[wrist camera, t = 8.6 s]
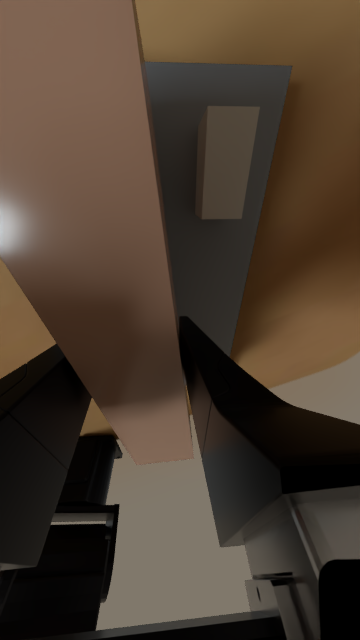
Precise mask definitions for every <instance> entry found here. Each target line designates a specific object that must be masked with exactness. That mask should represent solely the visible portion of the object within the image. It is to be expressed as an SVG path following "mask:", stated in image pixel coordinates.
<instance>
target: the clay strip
mask: <svg viewBox="0 0 360 640" xmlns="http://www.w3.org/2000/svg"><path fill="white" fill-rule="evenodd" d="M0 257H1V259H2V260H3V262H4V263H5V265H6V266H7V268H8V269H9V271H10V272H11V274H12V276H13V277H14V279H15V280H16V282H17V283H18V285H19V286H20V288H21V289H22V291H23V292H24V294H25V295H26V297H27V298H28V300H29V301H30V303H31V305H32V306H33V308H34V309H35V311H36V312H37V314H38V315H39V317H40V318H41V320H42V321H43V323H44V324H45V326H46V327H47V329H48V331H49V332H50V334H51V335H52V337H53V338H54V340H55V341H56V343H57V344H58V346H59V347H60V349H61V350H62V352H63V353H64V355H65V356H66V358H67V360H68V361H69V363H70V364H71V366H72V367H73V369H74V370H75V372H76V373H77V375H78V376H79V378H80V379H81V381H82V382H83V384H84V385H85V387H86V389H87V390H88V392H89V393H90V395H91V396H92V398H93V399H94V401H95V402H96V404H97V405H98V407H99V408H100V410H101V411H102V413H103V415H104V416H105V418H106V419H107V421H108V422H109V424H110V425H111V427H112V428H113V430H114V431H115V433H116V434H117V436H118V437H119V439H120V440H121V442H122V443H123V445H124V447H125V448H126V450H127V451H128V453H129V454H130V456H131V457H132V459H133V460H134V462H135V463H136V465H141V464H151V463H159V462H168V461H177V460H186V459H193V458H194V454H193V444H192V435H191V427H190V416H189V407H188V398H187V389H186V381H185V376H184V371H183V366H182V357H181V348H180V336H179V325H178V317H177V309H176V301H175V293H174V285H173V277H172V269H171V261H170V253H169V245H168V237H167V230H166V222H165V214H164V206H163V198H162V190H161V182H160V174H159V166H158V158H157V150H156V142H155V134H154V126H153V118H152V110H151V102H150V94H149V86H148V79H147V73H146V67H145V60H144V54H143V48H142V41H141V35H140V29H139V23H138V16H137V10H136V4H135V0H0Z"/></svg>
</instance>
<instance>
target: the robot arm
mask: <svg viewBox="0 0 360 640" xmlns="http://www.w3.org/2000/svg"><path fill="white" fill-rule="evenodd" d="M179 336H180V348H181V357H182V366H183V371H184V376H185V380H186V385H187V390H188V395H189V400H190V404H191V409H192V414H193V419H194V423H195V429H196V433H197V438H198V443H199V448H200V452H201V457H202V462H203V467H204V472H205V477H206V482H207V486H208V491H209V496H210V500H211V505H212V511H213V515H214V520H215V525H216V530H217V534H218V539H219V544H220V547H230V546H239V545H245V548H246V553H247V557H248V562H249V566H250V571H251V575H252V580H245V586H246V590H247V596H248V600H249V606H250V610H251V612H243V613H236V614H228V615H219V616H211V617H203V618H195V619H187V620H179V621H171V622H162V623H155V624H146V625H138V626H131V627H123V628H114V629H106V630H98V631H96V625H97V620H98V614H99V608H100V603H103V602H105V601H106V599H107V595H108V591H109V586H110V582H111V576H112V570H113V563H114V554H115V544H116V534H117V524H118V515H119V504H115V505H105V504H106V499H107V493H108V489H109V484H110V478H111V473H112V468H113V463H114V459H119V458H122V452H121V450H120V447H119V445H118V443H117V441H116V439H115V437H114V436H102V437H88V438H79V435H80V432H81V429H82V426H83V423H84V420H85V417H86V414H87V411H88V408H89V404H90V401H91V398H92V396H91V395H90V393H89V392H88V390H87V389H86V387H85V385H84V384H83V382H82V381H81V379H80V378H79V376H78V375H77V373H76V372H75V370H74V369H73V367H72V366H71V364H70V363H69V361H68V360H67V358H66V356H65V355H64V353H63V352H62V350H61V349H60V347H59V346H58V344H55V345H54V346H52V347H51V348H49V349H47V350H46V351H44V352H43V353H41V354H40V355H38V356H36V357H35V358H33V359H32V360H30V361H29V362H27V364H24V365H22V366H21V367H19V368H18V369H16V370H14V371H13V372H11V373H9V374H8V375H6V376H5V377H3V378H1V379H0V640H360V425H359V424H355V423H351V422H348V421H345V420H341V419H338V418H334V417H331V416H327V415H324V414H320V413H316V412H313V411H309V410H306V409H302V408H299V407H296V406H293V405H291V404H289V403H287V402H285V401H283V400H281V399H280V398H279V397H277V396H276V395H274V394H273V393H272V392H271V391H269V390H268V389H267V388H266V387H264V386H263V385H262V384H261V383H259V382H258V381H257V380H256V379H254V378H253V377H252V376H251V375H249V374H248V373H247V372H246V371H244V370H243V369H242V368H241V367H240V366H238V365H237V364H236V363H235V362H234V361H233V360H232V359H231V358H230V357H229V356H228V355H227V354H226V353H224V351H223V350H222V349H221V348H220V347H218V346H217V345H216V344H215V343H214V342H213V341H212V340H211V339H210V338H209V337H208V336H207V335H206V334H205V333H204V332H203V331H202V330H201V329H200V328H199V327H198V326H197V325H196V324H195V323H194V322H193V321H192V320H191V319H190V318H189V317H188V316H180V317H179ZM69 521H70V522H75V521H106V524H69V525H51V522H69Z"/></svg>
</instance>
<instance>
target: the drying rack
mask: <svg viewBox="0 0 360 640" xmlns="http://www.w3.org/2000/svg"><path fill="white" fill-rule="evenodd" d="M145 67H146V73H147V79H148V86H149V94H150V102H151V110H152V118H153V126H154V134H155V142H156V150H157V158H158V166H159V174H160V182H161V190H162V198H163V206H164V214H165V222H166V230H167V237H168V245H169V253H170V261H171V269H172V277H173V285H174V293H175V301H176V309H177V317H178V325H179V317H180V316H188V317H189V318H190V319H191V320H192V321H193V322H194V323H195V324H196V325H197V326H198V327H199V328H200V329H201V330H202V331H203V332H204V333H205V334H206V335H207V336H208V337H209V338H210V339H211V340H212V341H213V342H214V343H215V344H216V345H217V346H218V347H220V348H221V349H222V350H223V351H224V353H226V354H227V355H228V356H229V357H230V353H231V349H232V344H233V339H234V335H235V330H236V325H237V321H238V316H239V311H240V307H241V302H242V297H243V293H244V288H245V283H246V279H247V274H248V269H249V265H250V260H251V255H252V251H253V246H254V241H255V237H256V232H257V227H258V223H259V218H260V213H261V209H262V204H263V200H264V195H265V190H266V186H267V181H268V176H269V172H270V167H271V162H272V158H273V153H274V148H275V144H276V139H277V134H278V130H279V125H280V120H281V116H282V111H283V106H284V102H285V97H286V92H287V88H288V83H289V78H290V74H291V69H292V66H278V65H242V64H206V63H170V62H145ZM185 381H186V380H185Z"/></svg>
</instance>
